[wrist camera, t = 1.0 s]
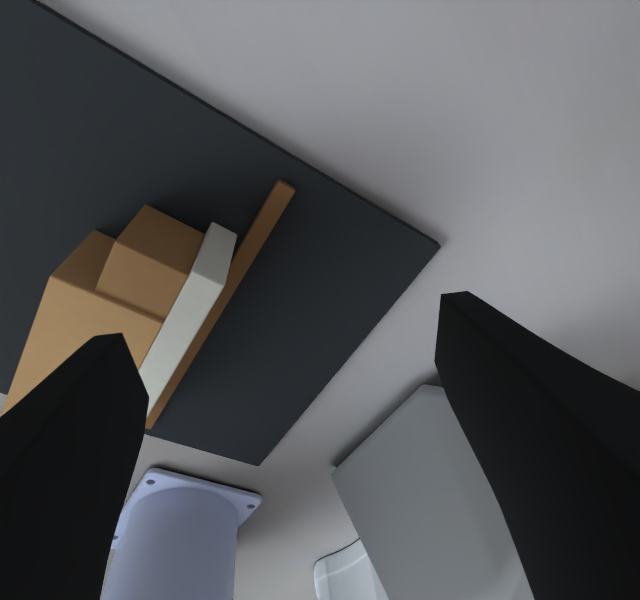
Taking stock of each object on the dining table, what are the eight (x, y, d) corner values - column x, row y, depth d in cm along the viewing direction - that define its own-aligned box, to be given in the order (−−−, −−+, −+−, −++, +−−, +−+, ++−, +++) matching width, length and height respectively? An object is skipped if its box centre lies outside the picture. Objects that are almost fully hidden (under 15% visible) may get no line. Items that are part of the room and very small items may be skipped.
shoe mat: (258, 460, 28) (258, 472, 28) (-166, 336, 20) (-182, 349, 19) (438, 242, 21) (444, 250, 20) (-129, -100, 12) (-154, -107, 12)
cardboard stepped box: (139, 408, 24) (111, 478, 20) (38, 373, 22) (-12, 443, 18) (238, 234, 19) (225, 285, 15) (117, 171, 17) (69, 212, 13)
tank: (723, 436, 32) (939, 638, 22) (554, 542, 39) (658, 735, 28) (498, 291, 23) (693, 530, 12) (324, 465, 29) (356, 714, 19)
